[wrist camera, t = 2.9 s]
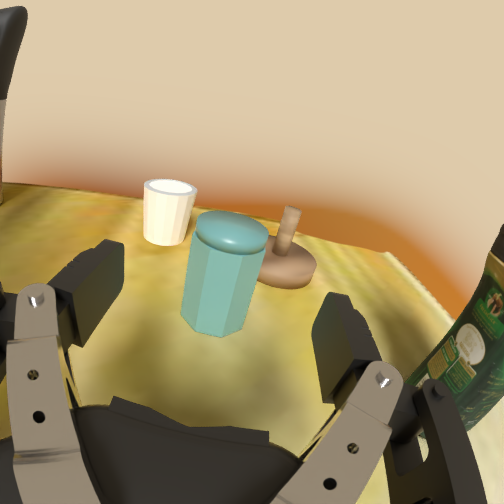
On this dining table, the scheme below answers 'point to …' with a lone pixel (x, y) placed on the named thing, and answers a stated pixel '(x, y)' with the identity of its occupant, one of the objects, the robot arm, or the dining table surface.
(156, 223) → the white cup
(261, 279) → the post
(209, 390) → the dining table surface
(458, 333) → the coffee jar
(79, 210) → the dining table surface
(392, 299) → the dining table surface
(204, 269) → the teal lidded canister
